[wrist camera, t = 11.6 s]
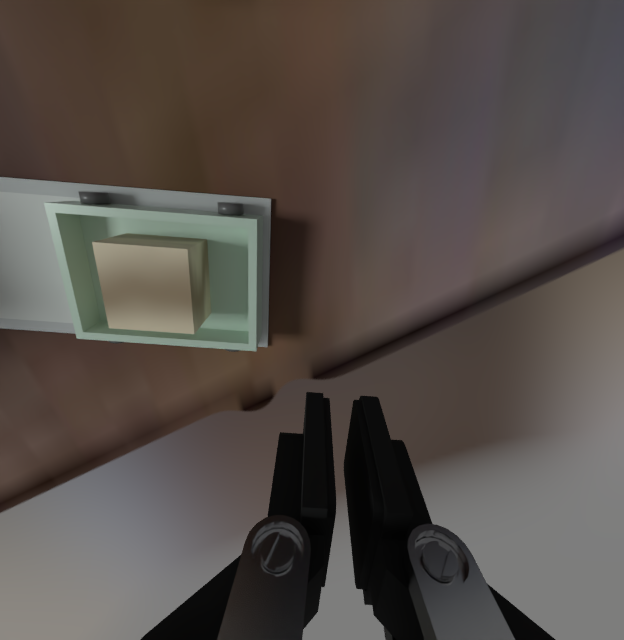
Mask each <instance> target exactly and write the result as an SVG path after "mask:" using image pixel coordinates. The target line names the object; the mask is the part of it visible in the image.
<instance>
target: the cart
mask: <svg viewBox="0 0 624 640" xmlns="http://www.w3.org/2000/svg"><path fill="white" fill-rule="evenodd" d="M78 192H79V197H80V201H59V202H44V206H45V210H46V214H47V218H48V222H49V226H50V230H51V234H52V239H53V243H54V247H55V251H56V255H57V259H58V263H59V267H60V271H61V276H62V280H63V284H64V288H65V292H66V296H67V300H68V304H69V309H70V313H71V317H72V321H73V325H74V329H75V333H76V337H77V339H90V340H104V341H109V342H111V343H123V342H133V343H147V344H161V345H175V346H190V347H204V348H218V349H225V350H227V351H240V350H246V351H256V350H257V348H258V345H259V342H260V339H261V336H262V266H263V216H260V215H248V214H244V204H242V203H232V202H217V204H218V212H210V211H197V210H185V209H172V208H159V207H147V206H134V205H122V204H111V202H110V196H109V193H107V192H93V191H78ZM125 233H131V234H144V235H158V236H171V237H184V238H197V239H207V244H208V262H209V280H210V298H211V314H210V315H209V317H208V318H207V319H206V320H205V322H204V323H203V324H202V325H201V327H200V328H199V329H198V330H197V331H196V333H195V334H185V333H171V332H156V331H142V330H128V329H113V328H109V326H108V321H107V316H106V311H105V306H104V301H103V296H102V291H101V286H100V281H99V276H98V270H97V265H96V260H95V255H94V250H93V245H92V242H94V241H98V240H102V239H106V238H110V237H114V236H117V235H121V234H125Z"/></svg>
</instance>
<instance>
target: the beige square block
mask: <svg viewBox="0 0 624 640" xmlns="http://www.w3.org/2000/svg"><path fill="white" fill-rule="evenodd" d="M92 245H93V250H94V255H95V260H96V265H97V270H98V276H99V281H100V286H101V291H102V296H103V301H104V306H105V311H106V316H107V321H108V326H109V328H113V329H128V330H142V331H156V332H171V333H185V334H195V333H196V331H197V330H198V329H199V328H200V327H201V325H202V324H203V323H204V322H205V320H206V319H207V318H208V317H209V315H210V314H211V298H210V280H209V262H208V244H207V239H197V238H184V237H171V236H158V235H144V234H131V233H125V234H121V235H117V236H114V237H110V238H106V239H102V240H98V241H94V242H92Z"/></svg>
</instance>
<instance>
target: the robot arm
mask: <svg viewBox="0 0 624 640" xmlns="http://www.w3.org/2000/svg"><path fill="white" fill-rule="evenodd" d="M344 477H345V486H346V497H347V507H348V516H349V526H350V536H351V546H352V556H353V566H354V575H355V585H356V588H357V589H363V594H364V603H365V605H373V612H374V616H375V617H376V618H377V619H378V620H379V621H380V622H381V624H382V625H383V626H384V632H385V639H386V640H555V639H554V638H553V637H551V636H550V635H549V634H548V633H547V632H545V631H544V630H543V629H542V628H541V627H539V626H538V625H537V624H536V623H534V622H533V621H532V620H531V619H529V618H528V617H527V616H526V615H525V614H523V613H522V612H521V611H520V610H518V609H517V608H516V607H515V606H514V605H512V604H511V603H510V602H509V601H508V600H506V599H505V598H504V597H503V596H501V595H500V594H499V593H498V592H497V591H495V590H494V589H493V588H492V587H490V586H489V585H488V584H487V583H486V581H485V579H484V577H483V575H482V573H481V571H480V569H479V567H478V565H477V563H476V561H475V559H474V557H473V555H472V554H471V552H470V551H469V549H468V548H467V546H466V545H465V543H464V542H462V540H460V539H459V537H458V536H457V535H455V534H454V533H452V532H451V531H449V530H448V529H446V528H444V527H441V526H438V525H434V524H432V522H431V519H430V516H429V513H428V510H427V507H426V504H425V502H424V498H423V496H422V493H421V490H420V487H419V484H418V481H417V478H416V475H415V473H414V469H413V467H412V464H411V461H410V458H409V455H408V452H407V449H406V447H405V444H404V442H403V441H402V440H391V439H390V435H389V432H388V429H387V425H386V422H385V419H384V415H383V412H382V409H381V405H380V402H379V399H378V397H371V396H360V399H359V400H354V401H353V407H352V414H351V420H350V427H349V433H348V439H347V446H346V453H345V459H344ZM335 515H336V490H335V475H334V460H333V445H332V431H331V415H330V401H329V398H323V393H312V392H307V393H306V406H305V418H304V429H303V434H296V433H281V432H280V435H279V441H278V448H277V455H276V462H275V469H274V476H273V483H272V491H271V497H270V504H269V511H268V517H267V518H265V519H263V520H261V521H260V522H258V523H257V524H256V525H255V526H254V527H253V528H252V530H251V531H250V532H249V534H248V536H247V539H246V541H245V544H244V548H243V551H242V554H241V555H240V556H239V557H238V558H237V559H235V560H234V561H233V562H232V563H231V564H229V565H228V566H227V567H226V568H225V569H224V570H222V571H221V572H220V573H219V574H217V575H216V576H215V577H214V578H213V579H211V581H209V582H208V583H207V584H205V585H204V586H203V587H202V588H201V589H200V590H198V591H197V592H196V593H195V594H194V595H193V596H191V597H190V598H189V599H188V600H186V601H185V602H184V603H183V604H182V605H180V606H179V607H178V608H177V609H176V610H175V611H173V612H172V613H171V614H170V615H168V616H167V617H166V618H165V619H164V620H163V621H161V622H160V623H159V624H158V625H157V626H155V627H154V628H153V629H152V630H150V631H149V632H148V633H147V634H146V635H145V636H144V637H143V638H142V639H141V640H302V634H303V629H304V628H305V627H306V625H307V624H308V623H309V622H310V621H311V619H312V618H313V617H314V616H315V614H316V613H317V612H318V606H319V599H320V593H321V587H324V586H325V580H326V574H327V567H328V561H329V555H330V548H331V542H332V534H333V528H334V522H335Z"/></svg>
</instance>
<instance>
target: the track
mask: <svg viewBox="0 0 624 640" xmlns="http://www.w3.org/2000/svg"><path fill="white" fill-rule="evenodd" d="M78 191H93V192H107V193H109V196H110V202H111V204H122V205H134V206H147V207H159V208H172V209H185V210H197V211H210V212H218V204H217V202H232V203H242V204H244V214H248V215H260V216H263V266H262V336H261V339H260V342H259V345H258V347H268V318H269V274H270V230H271V199H268V198H256V197H243V196H231V195H218V194H206V193H194V192H181V191H169V190H156V189H144V188H132V187H119V186H107V185H94V184H82V183H70V182H57V181H45V180H32V179H20V178H7V177H0V328H4V329H18V330H32V331H47V332H61V333H75V329H74V325H73V321H72V317H71V313H70V309H69V304H68V300H67V296H66V292H65V288H64V284H63V280H62V276H61V271H60V267H59V263H58V259H57V255H56V251H55V247H54V243H53V239H52V234H51V230H50V226H49V222H48V218H47V214H46V210H45V206H44V202H59V201H80V197H79V192H78ZM75 334H76V333H75Z"/></svg>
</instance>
